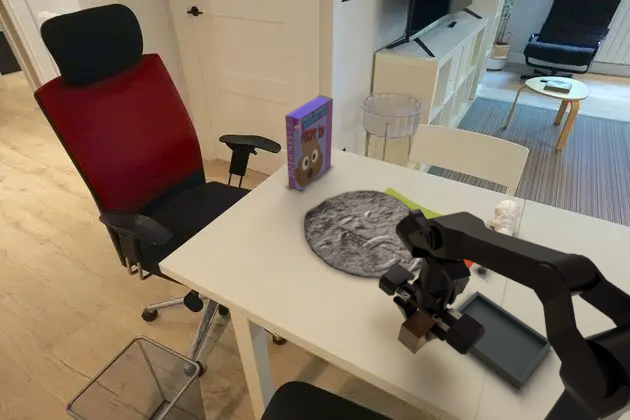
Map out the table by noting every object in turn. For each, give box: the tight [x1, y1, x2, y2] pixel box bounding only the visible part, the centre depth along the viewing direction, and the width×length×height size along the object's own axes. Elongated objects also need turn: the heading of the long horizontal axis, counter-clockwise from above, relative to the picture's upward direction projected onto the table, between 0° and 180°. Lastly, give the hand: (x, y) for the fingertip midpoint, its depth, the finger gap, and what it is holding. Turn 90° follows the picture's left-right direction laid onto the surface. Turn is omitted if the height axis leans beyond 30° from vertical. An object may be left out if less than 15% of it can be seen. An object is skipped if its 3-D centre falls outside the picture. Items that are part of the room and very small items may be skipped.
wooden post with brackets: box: [477, 265, 488, 274], centre depth 91 cm, size 2×8×4 cm, turn 155°
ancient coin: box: [303, 189, 423, 278], centre depth 100 cm, size 33×35×1 cm
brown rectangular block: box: [397, 309, 437, 355], centre depth 69 cm, size 4×8×5 cm, turn 130°
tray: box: [455, 290, 552, 390], centre depth 75 cm, size 17×13×2 cm
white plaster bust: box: [489, 199, 522, 236], centre depth 97 cm, size 6×8×12 cm
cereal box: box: [284, 94, 334, 192], centre depth 114 cm, size 17×5×24 cm, turn 147°
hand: (419, 332), depth 70 cm, fingers closed on brown rectangular block, 4 cm apart
